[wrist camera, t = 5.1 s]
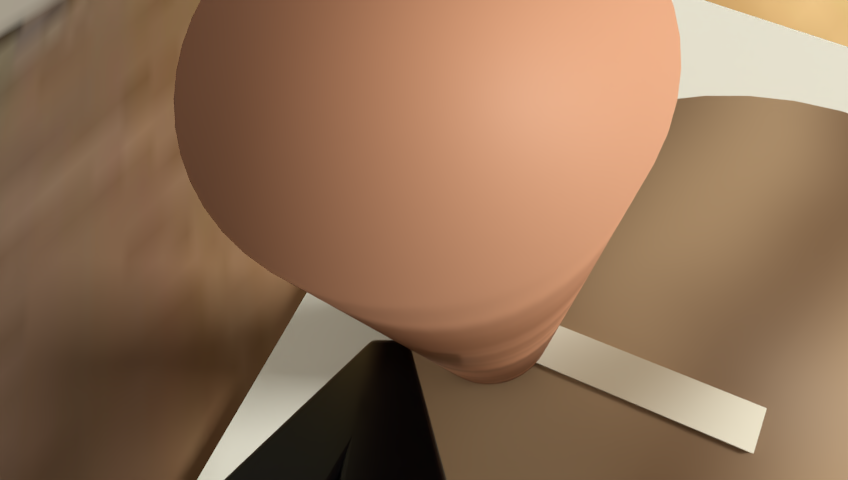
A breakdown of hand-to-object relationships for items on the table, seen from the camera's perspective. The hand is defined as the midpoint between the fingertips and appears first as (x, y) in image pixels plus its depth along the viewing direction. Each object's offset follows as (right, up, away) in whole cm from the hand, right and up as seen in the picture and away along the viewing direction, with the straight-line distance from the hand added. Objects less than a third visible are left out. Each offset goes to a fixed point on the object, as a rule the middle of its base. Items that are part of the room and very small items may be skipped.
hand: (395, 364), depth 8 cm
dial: (+8, -3, +6) cm, 10 cm away
